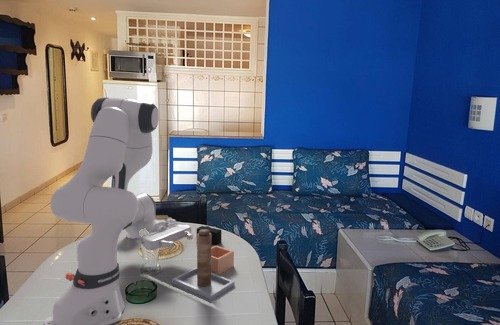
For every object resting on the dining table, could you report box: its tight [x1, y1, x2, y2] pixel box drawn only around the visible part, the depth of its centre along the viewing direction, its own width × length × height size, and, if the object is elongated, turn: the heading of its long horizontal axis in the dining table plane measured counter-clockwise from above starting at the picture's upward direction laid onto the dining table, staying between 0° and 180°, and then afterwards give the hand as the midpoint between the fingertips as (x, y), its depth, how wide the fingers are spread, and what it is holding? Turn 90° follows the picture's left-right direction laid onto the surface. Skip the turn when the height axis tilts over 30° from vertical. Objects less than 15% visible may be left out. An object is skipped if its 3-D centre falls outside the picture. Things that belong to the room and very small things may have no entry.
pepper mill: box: [196, 229, 212, 287], centre depth 134 cm, size 5×5×19 cm
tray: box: [171, 266, 236, 303], centre depth 135 cm, size 12×18×2 cm, turn 54°
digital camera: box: [196, 225, 222, 246], centre depth 173 cm, size 10×5×7 cm, turn 64°
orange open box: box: [211, 245, 235, 276], centre depth 148 cm, size 9×9×7 cm
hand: (182, 241), depth 142 cm, fingers open, 8 cm apart
